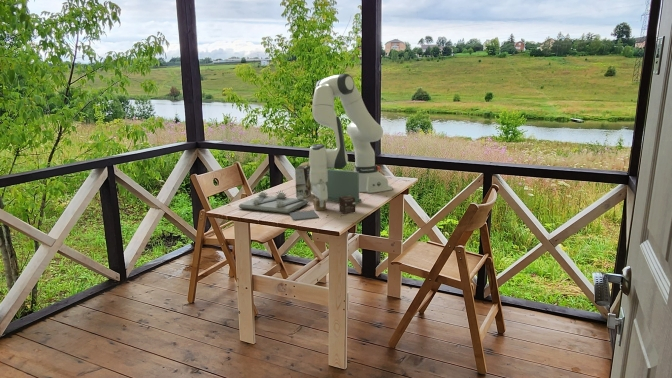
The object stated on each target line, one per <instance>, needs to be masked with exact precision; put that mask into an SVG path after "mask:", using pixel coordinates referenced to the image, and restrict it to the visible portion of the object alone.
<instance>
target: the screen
mask: <svg viewBox="0 0 672 378" xmlns="http://www.w3.org/2000/svg"><path fill="white" fill-rule="evenodd" d="M327 170H328V181H327V182H326V186H327V193H328V199H327V200H326V201H331V202H338V203H339V197H342V196H352V197H354V198H355V205H356V203H357V204H358V202H359V203H361V202H362V198H360V192H359V172H356V171H353V170H342V169H332V168H327Z"/></svg>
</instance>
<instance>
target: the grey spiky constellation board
mask: <svg viewBox="0 0 672 378" xmlns="http://www.w3.org/2000/svg"><path fill="white" fill-rule="evenodd" d="M266 192H267V191H263V190H262V191H259V192H258V194H257V196H256V197H254V198H252V199H250V200H247V201H244V202H242V203H240V204H239V205H238V207H239V209H242V210H243V209H244V210H251V211H252V210H253V211H263V212H269V213H270V212H272V213H281V214H289V213H290V212H295V211H296V210H298V209H300V208H302V207H303V206H306V205H308V204H309V203H310V201H309V200H308V199H305V197H303V196H302V195H301V196H300V197H298V196H297V197H296V198H295V197H287V194H286V193H285V192H284V191H283V190H278V192H276V194H275V195H274V196H271V195H269V194H268V193H266Z"/></svg>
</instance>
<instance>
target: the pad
mask: <svg viewBox="0 0 672 378" xmlns="http://www.w3.org/2000/svg"><path fill="white" fill-rule="evenodd" d="M288 214H289V216H290V217H291V219H292V220H295V221H301V220H303V221H305V220H312V219H320V216H319V215H318V214H317V212H316V210H315V209H314V210H303V211H301V210H300V211H292V212H290V213H288Z"/></svg>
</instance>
